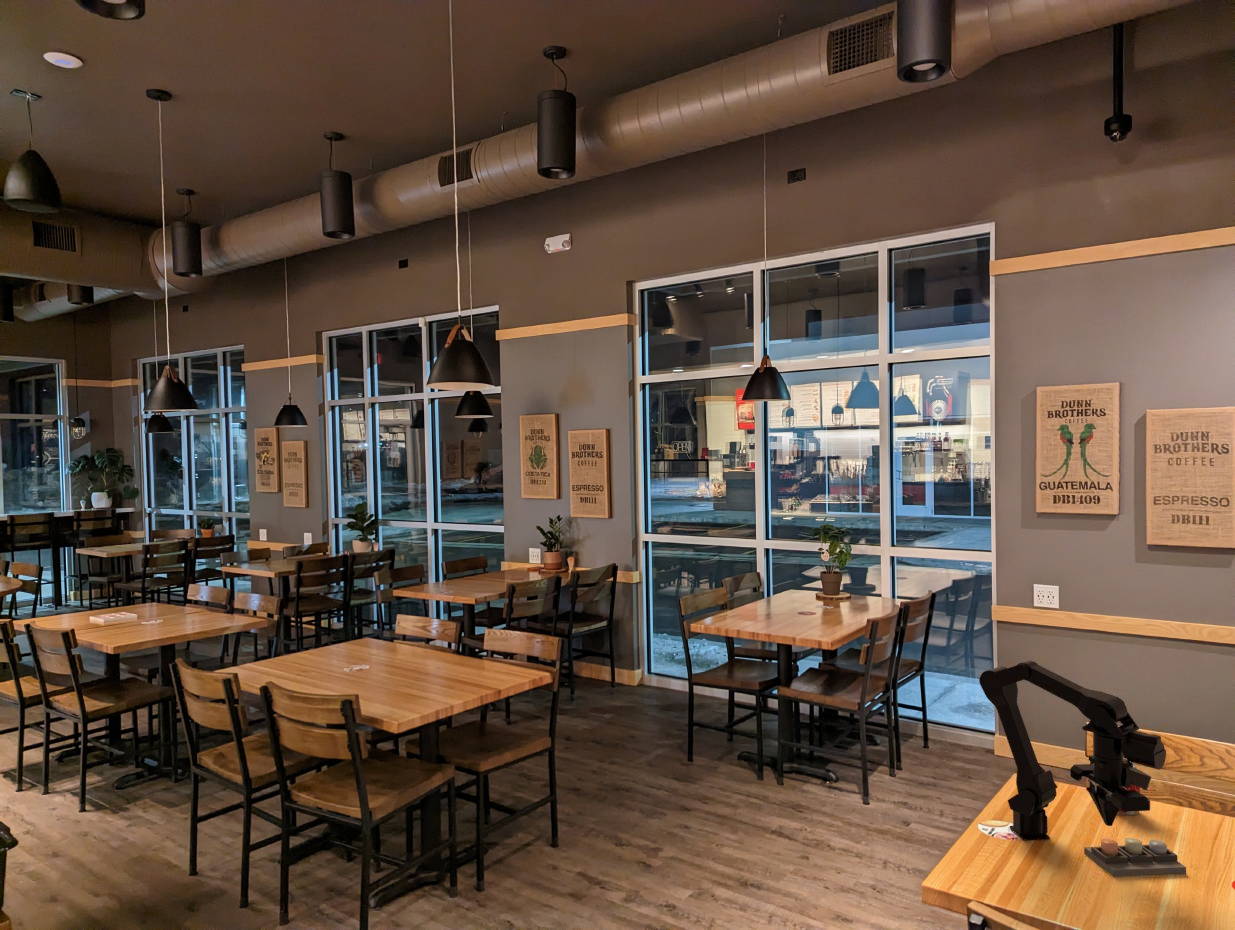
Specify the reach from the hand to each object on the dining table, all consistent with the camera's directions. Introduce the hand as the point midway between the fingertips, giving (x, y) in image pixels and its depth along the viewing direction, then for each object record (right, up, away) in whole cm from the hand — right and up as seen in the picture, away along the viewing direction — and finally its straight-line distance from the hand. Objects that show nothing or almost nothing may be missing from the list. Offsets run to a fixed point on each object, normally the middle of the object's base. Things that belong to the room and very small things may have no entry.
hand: (1108, 825), depth 175 cm
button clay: (0, -6, 0) cm, 6 cm away
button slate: (+11, -6, 0) cm, 13 cm away
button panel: (+6, -9, 0) cm, 10 cm away
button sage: (+6, -6, 0) cm, 8 cm away
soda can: (+20, -8, +26) cm, 33 cm away
